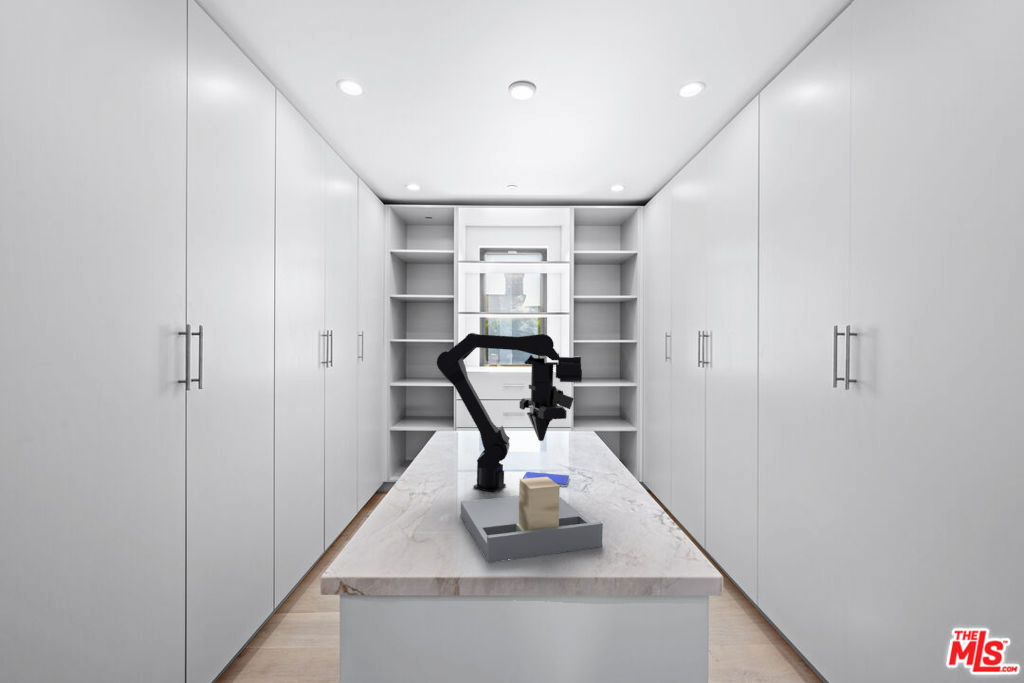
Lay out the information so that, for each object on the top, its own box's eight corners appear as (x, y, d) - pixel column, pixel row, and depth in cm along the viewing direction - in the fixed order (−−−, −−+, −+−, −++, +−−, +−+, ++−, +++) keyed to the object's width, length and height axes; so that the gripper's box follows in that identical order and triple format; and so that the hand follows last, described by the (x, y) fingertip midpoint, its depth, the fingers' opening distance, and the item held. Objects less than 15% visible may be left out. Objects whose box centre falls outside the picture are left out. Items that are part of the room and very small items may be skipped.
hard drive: (521, 479, 128) (566, 483, 126) (526, 470, 136) (569, 474, 134) (521, 485, 128) (566, 489, 126) (526, 476, 136) (569, 480, 134)
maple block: (518, 523, 93) (519, 479, 93) (546, 520, 95) (547, 476, 95) (529, 536, 87) (530, 488, 87) (558, 532, 89) (559, 485, 89)
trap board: (460, 514, 105) (460, 495, 105) (554, 504, 112) (554, 486, 112) (488, 562, 83) (488, 537, 83) (602, 546, 90) (602, 523, 90)
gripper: (586, 384, 116) (584, 447, 116) (555, 377, 134) (554, 432, 134) (544, 385, 113) (543, 449, 113) (519, 378, 130) (518, 433, 131)
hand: (541, 440), depth 123 cm, fingers closed
